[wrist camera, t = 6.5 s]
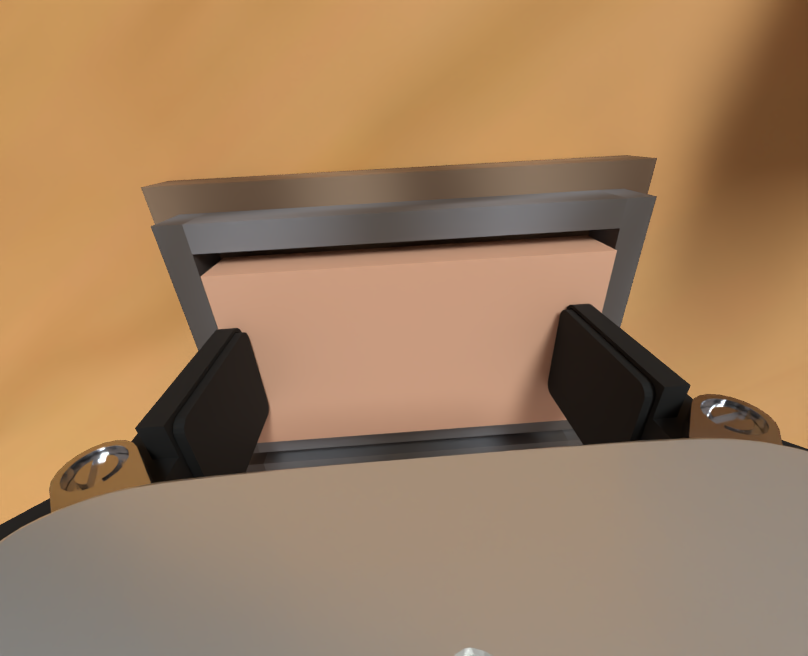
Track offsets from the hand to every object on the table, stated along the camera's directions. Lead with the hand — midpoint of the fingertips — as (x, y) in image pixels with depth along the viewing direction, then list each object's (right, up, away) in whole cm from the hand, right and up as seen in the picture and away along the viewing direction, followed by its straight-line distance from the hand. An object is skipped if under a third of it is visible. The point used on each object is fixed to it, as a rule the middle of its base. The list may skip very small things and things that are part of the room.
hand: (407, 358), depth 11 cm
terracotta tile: (0, +1, +1) cm, 2 cm away
